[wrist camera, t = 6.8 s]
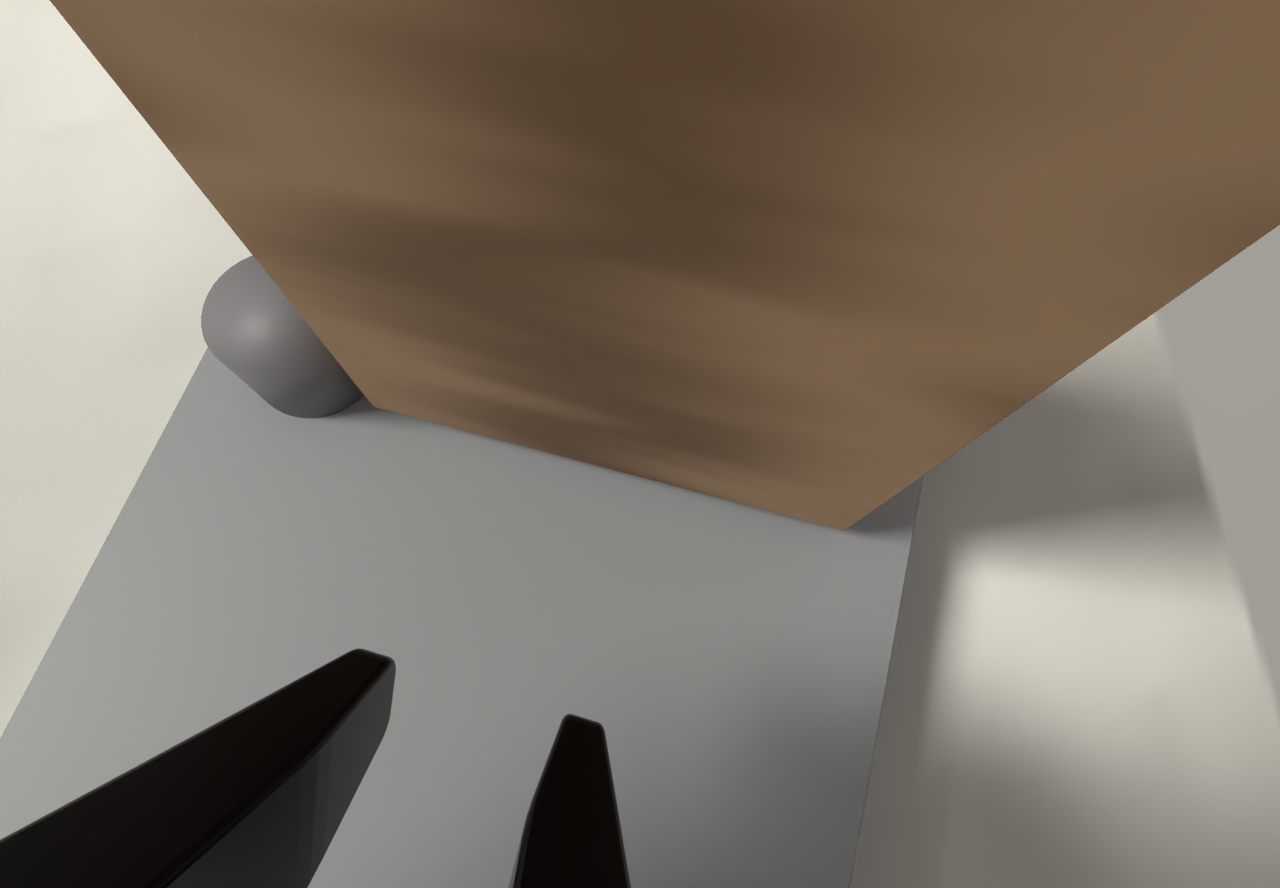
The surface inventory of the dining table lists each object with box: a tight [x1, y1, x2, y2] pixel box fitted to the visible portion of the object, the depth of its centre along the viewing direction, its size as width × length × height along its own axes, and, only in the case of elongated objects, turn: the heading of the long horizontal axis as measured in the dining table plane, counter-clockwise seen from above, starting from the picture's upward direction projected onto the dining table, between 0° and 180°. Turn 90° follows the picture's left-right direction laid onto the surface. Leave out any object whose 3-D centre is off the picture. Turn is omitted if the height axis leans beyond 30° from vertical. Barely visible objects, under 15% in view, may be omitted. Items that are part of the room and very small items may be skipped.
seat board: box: [0, 256, 923, 888], centre depth 13 cm, size 16×14×6 cm
